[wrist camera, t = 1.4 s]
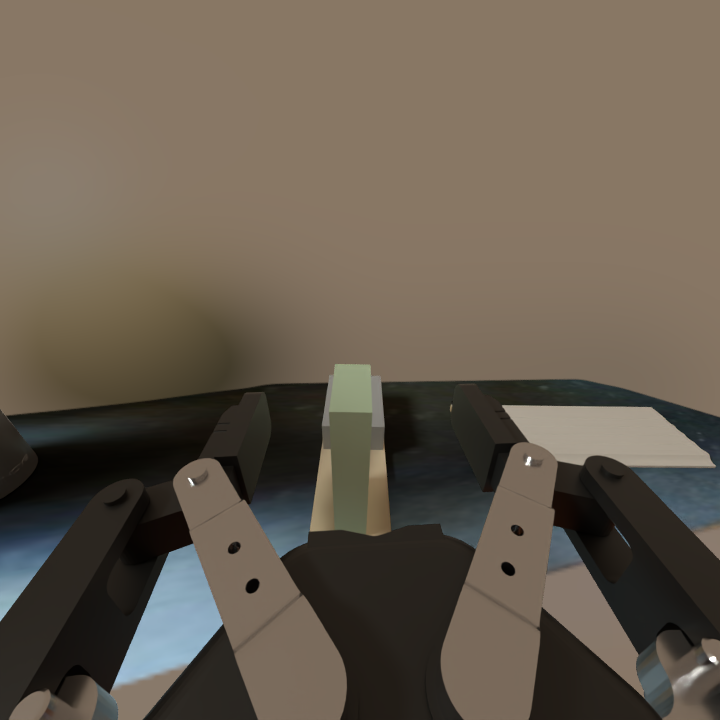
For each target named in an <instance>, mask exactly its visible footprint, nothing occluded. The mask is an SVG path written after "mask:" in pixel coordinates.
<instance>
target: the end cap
mask: <svg viewBox="0 0 720 720" xmlns="http://www.w3.org/2000/svg"><path fill="white" fill-rule="evenodd" d="M333 377H334V375H330V377H329V383H328V390H327V396H326V403H325V409H324V416H323V422H322V435H323V449H331V445H330V424H329V407H330V400H331V392H332V385H333ZM371 392H372V429H371V448H370V450H383V442H384V430H385V424H384V413H383V401H382V389H381V379H380V376H371Z"/></svg>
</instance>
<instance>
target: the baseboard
mask: <svg viewBox="0 0 720 720" xmlns="http://www.w3.org/2000/svg"><path fill="white" fill-rule="evenodd" d="M452 403H453V401H452ZM502 407H503V408H504V409H505V412H507V413H508V415H509V416H510V417H511V419H512V420H513V421H514V423H515V424H516V425H517V427H518V428H519V429H520V431H521V432H522V433H523V435H524V436H525V437H526V439H527V440H528V441H529V443H533V444H536V445H539V446H541V447H543V448H545V449H546V450H548V451H549V452H550V453H551V454H552V455H553V456H554V457H555V458H556V460H557V461H561V462H566V463H571V464H577V465H582V466H583V465H584V463H585V460H586V459H587V458H588V457H590V456H595V455H599V456H606V457H609V458H612V459H615V460H617V461H619V462H621V463H623V464H624V465H626V466H627V467H664V468H715V467H716V465H714V464H713V463H712V461H711V459H710V455H709V454H708V453H706V452H705V451H703V450H702V449H701V448H699V447H698V446H697V445H696V444H695V443H694V442H692V441H691V440H690V439H688V438H687V437H686V436H685V435H684V434H683V433H681V432H680V431H679V430H677V429H676V428H675V426H673V425H671V424H670V423H669V422H668V421H666V419H665V418H664V417H663V416H661V415H660V414H659V413H658V412H656V411H655V410H654V409H653V408H652V407H585V406H502ZM451 409H452V405H451V407H450V411H451ZM473 473H474V472H473Z"/></svg>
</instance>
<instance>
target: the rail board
mask: <svg viewBox="0 0 720 720" xmlns="http://www.w3.org/2000/svg"><path fill="white" fill-rule="evenodd" d="M328 530H335V527H334V506H333V486H332V465H331V449H323V442H322V449H321V456H320V463H319V470H318V477H317V484H316V491H315V498H314V505H313V512H312V519H311V526H310V532H311V531H328ZM388 532H391V522H390V510H389V497H388V484H387V472H386V459H385V446H384V442H383V450H370V468H369V487H368V506H367V525H366V535H371V536H378V535H382V534H385V533H388Z"/></svg>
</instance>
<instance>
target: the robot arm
mask: <svg viewBox="0 0 720 720" xmlns="http://www.w3.org/2000/svg"><path fill="white" fill-rule="evenodd" d="M451 424H452V427H453V430H454V432H455V434H456V436H457V438H458V440H459V442H460V445H461V447H462V449H463V451H464V453H465V455H466V457H467V459H468V461H469V464H470V466H471V468H472V470H473V472H474V474H475V476H476V478H477V480H478V483H479V485H480V487H481V489H482V491H483V492H493V491H494V492H495V496H494V499H493V502H492V504H491V507H490V510H489V513H488V516H487V519H486V522H485V525H484V528H483V531H482V534H481V537H480V539H479V542H478V545H477V548H476V549H474V548H473V547H472V546H470V545H468V544H466V543H465V542H463V541H461V540H458V539H456V538H453V537H450V536H446V535H443V533H442V529H441V526H440V524H427V525H411V526H406V527H403V528H400V529H397V530H394V531H391V532H388V533H385V534H382V535H378V536H371V535H366V534H361V533H356V532H351V531H346V530H328V531H311V532H309V535H308V543H306V544H303V545H301V546H298V547H296V548H294V549H293V550H291V551H289V552H288V553H286V554H285V555H284V556H282V557H281V558H279V556H278V555H277V553H276V551H275V550H274V548H273V546H272V545H271V543H270V541H269V540H268V538H267V536H266V534H265V533H264V531H263V529H262V528H261V526H260V524H259V523H258V521H257V519H256V518H255V516H254V514H253V513H252V511H251V509H250V508H249V506H248V504H251V501H252V498H253V494H254V491H255V487H256V484H257V480H258V477H259V474H260V470H261V467H262V463H263V460H264V457H265V453H266V450H267V446H268V443H269V439H270V436H271V419H270V414H269V409H268V404H267V399H266V395H265V393H264V392H256V393H245V394H244V396H243V398H242V400H241V402H240V404H239V405H234V406H231V407H230V408H229V409H228V410H226V411H225V412H224V413H223V414H222V416H221V418H220V420H219V421H218V425H216V427H215V429H214V432H213V433H212V434H211V436H210V438H209V440H208V442H207V444H206V445H205V447H204V449H203V451H202V453H201V455H200V457H199V458H198V460H196V461H193V462H191V463H189V464H187V465H186V466H184V467H183V468H182V469H181V470H180V471H179V472H178V473H177V474H176V476H175V478H174V480H171V481H168V482H165V483H161V484H158V485H155V486H151V487H148V488H145V487H144V485H143V483H142V482H141V481H139V480H137V479H125V480H121V481H118V482H115V483H113V484H111V485H109V486H107V487H106V488H104V489H103V490H101V491H100V492H99V493H98V494H96V495H95V496H94V497H93V499H92V500H91V501H90V502H89V504H88V505H87V506H86V508H85V509H84V510H83V512H82V513H81V514H80V516H79V517H78V518H77V520H76V521H75V522H74V524H73V525H72V526H71V528H70V529H69V530H68V532H67V533H66V534H65V536H64V537H63V538H62V540H61V541H60V543H59V544H58V545H57V547H56V548H55V549H54V551H53V552H52V553H51V555H50V556H49V557H48V559H47V560H46V561H45V563H44V564H43V565H42V567H41V568H40V569H39V571H38V572H37V573H36V575H35V576H34V577H33V579H32V580H31V581H30V583H29V584H28V585H27V587H26V588H25V589H24V591H23V592H22V593H21V595H20V596H19V597H18V599H17V600H16V601H15V603H14V604H13V605H12V607H11V608H10V609H9V611H8V612H7V613H6V615H5V616H4V617H3V619H2V620H1V622H0V720H118V707H117V703H116V701H115V699H114V698H113V697H112V696H111V695H110V691H111V689H112V687H113V684H114V682H115V679H116V677H117V675H118V672H119V670H120V668H121V665H122V663H123V660H124V658H125V656H126V653H127V651H128V649H129V646H130V644H131V641H132V639H133V637H134V634H135V632H136V630H137V627H138V625H139V622H140V620H141V618H142V615H143V613H144V611H145V608H146V606H147V603H148V601H149V599H150V596H151V594H152V592H153V589H154V587H155V584H156V582H157V580H158V577H159V575H160V573H161V570H162V568H163V565H164V563H165V561H166V558H167V556H168V554H169V552H171V551H174V550H177V549H179V548H182V547H185V546H188V545H190V544H193V543H194V546H195V549H196V551H197V554H198V557H199V559H200V562H201V565H202V567H203V570H204V573H205V575H206V578H207V581H208V584H209V586H210V589H211V592H212V594H213V597H214V600H215V602H216V605H217V608H218V611H219V613H220V616H221V619H222V621H223V625H222V626H221V627H220V628H219V630H218V631H217V632H216V633H215V634H214V635H213V637H212V638H211V639H210V640H209V641H208V643H207V644H206V645H205V646H204V647H203V649H202V650H201V651H200V652H199V653H198V655H197V656H196V657H195V658H194V659H193V661H192V662H191V663H190V664H189V665H188V666H187V668H186V669H185V670H184V671H183V673H182V674H181V675H180V676H179V677H178V678H177V680H176V681H175V682H174V683H173V684H172V686H171V687H170V688H169V689H168V690H167V691H166V693H165V694H164V695H163V696H162V697H161V699H160V700H159V701H158V702H157V703H156V705H155V706H154V707H153V708H152V710H151V711H150V712H149V713H148V714H147V715H146V717H145V718H144V719H143V720H720V560H719V559H718V558H717V557H716V556H715V555H714V554H713V553H712V552H711V551H710V550H709V549H708V548H707V547H706V546H705V545H704V544H703V543H702V542H701V541H700V539H699V538H698V537H697V536H696V535H695V534H694V533H693V532H692V531H691V530H690V529H689V528H688V527H687V526H686V525H685V524H684V523H683V522H682V521H681V520H680V519H679V518H678V517H677V516H676V515H675V514H674V513H673V512H672V511H671V510H670V509H669V508H668V507H667V506H666V504H665V503H664V502H663V501H662V500H661V499H660V498H659V497H658V496H657V495H656V494H655V493H654V492H653V491H652V490H651V489H650V488H649V487H648V486H647V485H646V484H645V483H644V482H643V481H642V480H641V479H640V478H639V477H638V476H637V475H636V474H635V473H634V472H633V471H632V470H631V469H630V468H629V467H627V466H626V465H624V464H623V463H621V462H619V461H617V460H615V459H612V458H609V457H606V456H599V455H595V456H590V457H588V458H587V459H586V460H585V463H584V465H583V466H582V465H577V464H571V463H566V462H561V461H557V460H556V458H555V457H554V456H553V455H552V454H551V453H550V452H549V451H548V450H546V449H545V448H543V447H541V446H539V445H536V444H533V443H529V441H528V440H527V439H526V437H525V436H524V435H523V433H522V432H521V431H520V429H519V428H518V427H517V425H516V424H515V423H514V421H513V420H512V419H511V417H510V416H509V415H508V413H507V412H505V409H504V408H503V407H502V405H501V404H500V403H499V402H498V401H497V400H495V399H494V398H492V397H491V396H489V395H483V394H482V392H481V391H480V389H479V388H478V386H477V385H476V384H457V385H456V386H455V390H454V397H453V403H452V409H451ZM37 463H38V457H37V455H36V453H35V452H34V451H33V450H32V448H31V447H30V446H29V445H28V443H27V442H26V441H25V440H24V439H23V437H22V436H21V435H20V434H19V432H18V431H17V429H16V428H15V427H14V426H13V425H12V423H11V422H10V421H9V420H8V418H7V417H6V416H5V415H4V413H3V412H2V411H1V410H0V499H1V498H3V497H5V496H6V495H8V494H9V493H11V492H12V491H14V490H15V489H16V488H17V487H19V486H20V485H21V484H22V483H23V482H25V481H26V479H27V478H28V477H29V476H30V475H31V474H32V473H33V471H34V470H35V468H36V466H37ZM553 526H557V527H561V528H563V529H564V530H565V532H566V534H567V535H568V537H569V539H570V540H571V542H572V544H573V545H574V547H575V549H576V550H577V552H578V554H579V555H580V557H581V559H582V560H583V562H584V564H585V565H586V567H587V569H588V570H589V572H590V574H591V575H592V577H593V579H594V580H595V582H596V584H597V586H598V587H599V589H600V590H601V592H602V594H603V595H604V597H605V599H606V601H607V602H608V604H609V606H610V607H611V609H612V611H613V612H614V614H615V616H616V617H617V619H618V621H619V622H620V624H621V626H622V627H623V629H624V631H625V632H626V634H627V636H628V637H629V639H630V641H631V642H632V644H633V646H634V647H635V649H636V651H637V652H638V654H639V656H638V658H637V662H636V670H637V675H638V678H639V681H640V682H641V685H642V687H643V690H644V697H645V699H644V698H643V697H642V696H641V695H640V694H639V693H638V692H637V691H636V690H635V689H634V688H633V687H632V686H631V685H629V684H628V683H627V682H626V681H625V680H624V679H622V678H621V677H620V676H619V675H618V674H617V673H616V672H615V671H614V670H612V669H611V668H610V667H609V666H608V665H607V664H606V663H604V662H603V661H602V660H601V659H600V658H599V657H598V656H597V655H596V654H594V653H593V652H592V651H591V650H590V649H589V648H588V647H586V646H585V645H584V644H583V643H582V642H581V641H579V639H577V638H576V637H575V636H574V635H573V634H572V633H571V632H569V631H568V630H567V629H566V628H565V627H564V626H563V625H562V624H560V623H559V622H558V621H557V620H556V619H555V618H554V617H552V616H551V615H550V614H549V613H548V612H547V611H546V610H545V609H543V608H542V600H543V593H544V586H545V579H546V572H547V565H548V557H549V550H550V543H551V536H552V528H553ZM615 526H616V527H617V528H618V530H619V531H620V532H621V534H622V535H623V536H624V538H625V539H626V540H627V542H628V543H629V545H630V547H631V548H630V547H629V546H628V544H627V543H626V542H625V540H624V539H623V538H622V537H621V535H620V534H619V533H618V531H617V530H616V529H615Z"/></svg>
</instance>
